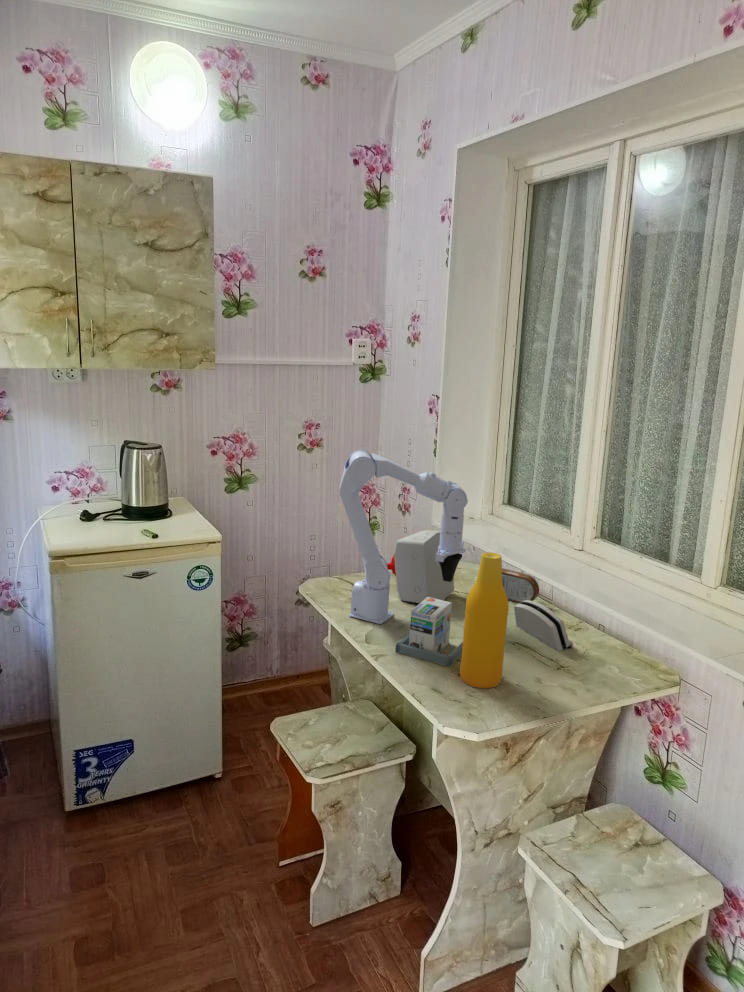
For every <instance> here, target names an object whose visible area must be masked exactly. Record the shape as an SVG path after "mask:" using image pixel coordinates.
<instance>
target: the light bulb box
mask: <svg viewBox="0 0 744 992" xmlns="http://www.w3.org/2000/svg"><path fill="white" fill-rule="evenodd" d="M452 607H453V603H452V601H451V602H450V601H446V600H439V599H434V598H431V597H427V598H426V599H425V600H423V601H422V602H421V603H417V605H416V606H415V607H413V608H412V609H411V610H410V624H409V633H410V636H409V646H413V647H417V648H420V649H424V650H428V651H432V652H435V653H439V654H440V652H441V651H443V650H444V648H445V647H447V645H449V644H450V633H451V632H450V631H451V620H452Z"/></svg>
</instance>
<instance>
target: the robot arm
mask: <svg viewBox="0 0 744 992" xmlns="http://www.w3.org/2000/svg"><path fill="white" fill-rule="evenodd" d="M374 476H375V478H376V479H378V478H382V477H385V476H388V477H390V478H393V479H395V480H398V481H400V482H403V483H405V484H408V485H411V486H412V487H414V489H415V492H416V493H417V494H419V495H422V496H423V497H426V498H427V499H428V498H429V499H430V500H432V501H434V502H435V501H436V502H437V503H442V512H441V519H440V530H439V531H440V543H439V546H438V552H437V553H436V560H435V561H439V564H440V566H441V571H442V577H443V581H448V582H451V581H452V580H453V578H455V577H454V576H455V574H456V570H457V567H458V565H459V563H460V561H461V560H462V558H463V554H464V553H466V551H467V550H466V549H465V548H464V543H465V542H464V540H463V531H464V521H465V520H464V519H465V518H464V517H465V515H464V512H465V508H466V506H467V505H468V502H469V499H468V496H467V493H466V492H465V491H464V489H463V488H462V487H461V486H460V485H458V484H457V483H456V482H453V481H451V480H447V481H446V480H445V479H442V478H440V477H437V474H436V473H435V472H432V471H431V472H427V471H425V472H423V473H416V472H415V471H413V470H410V469H409V468H407V467H404V466H402V465H401V464H399V463H396V462H394V461H392V460H390V459H388V458H386V457H384V456H381V455H379V454H377V453H371V454H370V452H369V451H367V450H364V449H358V450H355V451H353V452H352V453H351V454H350V455H349V457H348V458H347V459H346V461H345V463H344V467H343V472H342V475H341V479H340V481H339V486H338V489H339V491H338V492H339V495H340V499H341V502H342V504H343V507H344V510H345V513H346V515H347V518H348V521H349V523H350V527H351V529H352V532H353V535H354V538H355V541H356V543H357V546H358V549H359V551H360V554H361V558H362V561H363V570H364V575H365V577H364V578H363V580H356V581H355V583H354V584H353V587H352V590H351V602H350V604H351V605H350V613H349V614H348V615H349V617H352V618H355V619H360V620H361V621H362V620H364V621H366V622H372V623H373V624H378V625H382V624H383V623H384V622H386V621H387V620H389V619H390V618H391V617H393V615H395V613H394V612H393V611H389V605H390V604H389V602H390V587H391V583H390V581H391V573H390V571H389V570H388V568H387V564H388V562H387V560H386V559H385V557H384V556H382V555H381V553H380V551H379V548H378V545H377V542H376V540H375V537H374V534H373V532H372V529H371V526H370V523H369V520H368V517H367V514H366V511H365V509H364V506H363V503H362V500H361V498H360V492H361V490H362V488H363V486H364V485H365V484H366V483H368V482H369V481H370V480H371V479H372V478H374Z"/></svg>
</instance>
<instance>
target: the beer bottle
mask: <svg viewBox="0 0 744 992" xmlns="http://www.w3.org/2000/svg"><path fill="white" fill-rule="evenodd" d="M502 560H503V559H502V555H501V554H500V553H497V552H489V551H488V552H483V553H482V554H481V558H480V563H479V565H478V566H479V568H478V572H477V577H476V580H475V583H474V584H473V586H472V587H471V589H470V591H469V592H468V594H467V598H466V602H465V613H464V626H463V636H462V642H463V647H462V655H461V661H460V668H459V669H460V670H459V675H460V679H461V680H462V681H463V683H465V684H466V685H468V686H470V687H472V688H478V689H492V688H494V687H497V686H498V685H499V684H501V681H502V677H503V668H504V656H505V645H506V644H505V643H506V635H507V626H508V615H509V600H508V599H507V595H506V592H505V590H504V587H503V584H502V568H503V565H502V564H503V563H502Z"/></svg>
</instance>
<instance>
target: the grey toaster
mask: <svg viewBox="0 0 744 992" xmlns="http://www.w3.org/2000/svg"><path fill="white" fill-rule="evenodd" d="M513 609H514V617H515V618H514V619H515V625H516V627H517V628H519V629H520V630H522V631H524V632H525V633H527V634H529V635H530V636H532V637H534V638H536V639H537V640H539V641H540V642H541V643H544V644H545V645H548V646H549V647H550V648H552V649H554V650H556V651H557V652H562V651H563V649H564V647H565V648H568V647H570V648H571V649H573V648H574V644H573V643H574V642H573V641H572V640H570V639H569V637H568V633H567V629H566V626H565V622H564V621H563V620H562V618H561V617H559V616H558V614H556V613H555V612H554V611H552V610H550V608H548V607H547V606H545V605H543V604H541V603H539V602H537V601H534V600H533V601H530V600H525V601H522V602H521V603H517V604H516V605H515V606H514V607H513Z"/></svg>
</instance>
